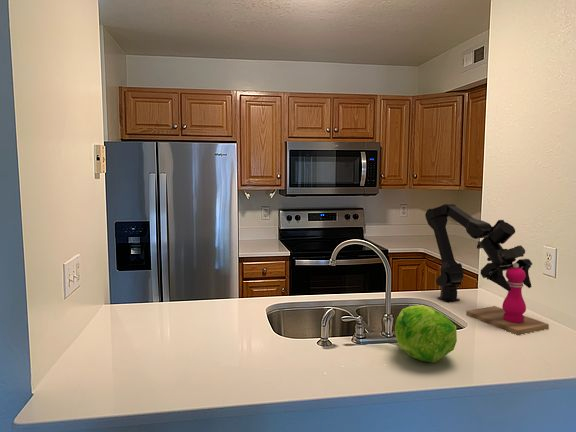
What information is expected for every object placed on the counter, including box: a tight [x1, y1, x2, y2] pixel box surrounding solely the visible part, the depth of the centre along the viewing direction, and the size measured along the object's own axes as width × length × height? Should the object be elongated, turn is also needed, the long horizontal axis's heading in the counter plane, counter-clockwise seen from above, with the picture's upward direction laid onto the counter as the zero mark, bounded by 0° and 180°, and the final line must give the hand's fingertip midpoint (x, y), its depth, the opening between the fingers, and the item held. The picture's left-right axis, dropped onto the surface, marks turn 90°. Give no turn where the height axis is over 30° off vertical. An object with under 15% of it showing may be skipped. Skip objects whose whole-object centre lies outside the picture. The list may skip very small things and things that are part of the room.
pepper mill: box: [501, 262, 527, 323], centre depth 144 cm, size 7×7×20 cm
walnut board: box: [465, 305, 550, 336], centre depth 148 cm, size 22×14×2 cm, turn 21°
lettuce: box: [394, 304, 458, 363], centre depth 121 cm, size 17×20×15 cm
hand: (520, 289), depth 142 cm, fingers open, 9 cm apart
